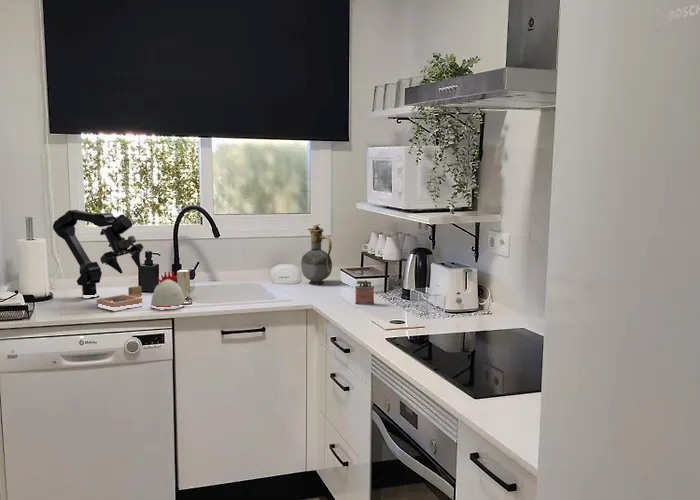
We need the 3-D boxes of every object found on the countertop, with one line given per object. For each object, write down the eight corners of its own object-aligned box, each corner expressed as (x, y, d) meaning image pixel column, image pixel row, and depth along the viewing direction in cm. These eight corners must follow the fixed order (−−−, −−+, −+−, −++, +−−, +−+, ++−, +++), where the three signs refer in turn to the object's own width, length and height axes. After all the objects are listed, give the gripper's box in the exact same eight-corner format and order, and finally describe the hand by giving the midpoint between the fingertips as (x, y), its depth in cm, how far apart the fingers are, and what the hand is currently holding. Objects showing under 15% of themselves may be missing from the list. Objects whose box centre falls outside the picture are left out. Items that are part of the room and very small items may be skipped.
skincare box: (187, 298, 296) (186, 271, 295) (177, 298, 296) (176, 271, 295) (190, 295, 303) (189, 269, 301) (181, 296, 303) (180, 269, 301)
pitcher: (315, 280, 341) (314, 221, 337) (339, 285, 327) (339, 224, 323) (298, 282, 334) (297, 223, 330) (322, 288, 320) (321, 225, 316)
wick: (128, 300, 293) (128, 287, 292) (138, 299, 297) (138, 285, 296) (132, 301, 291) (131, 288, 290) (142, 299, 295) (141, 286, 294)
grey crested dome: (187, 308, 277) (186, 272, 275) (153, 311, 272) (151, 275, 270) (182, 302, 290) (181, 268, 288) (150, 304, 285) (148, 270, 283)
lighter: (374, 303, 285) (374, 280, 284) (373, 304, 282) (373, 281, 281) (355, 302, 286) (355, 279, 285) (354, 304, 283) (354, 281, 281)
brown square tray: (97, 307, 280) (96, 298, 279) (124, 302, 290) (124, 293, 289) (114, 311, 271) (114, 302, 271) (142, 306, 282) (141, 296, 281)
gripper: (103, 235, 278) (120, 268, 276) (141, 226, 292) (157, 257, 291) (92, 247, 285) (109, 279, 284) (130, 237, 299) (145, 267, 298)
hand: (130, 270), depth 289 cm, fingers open, 9 cm apart
